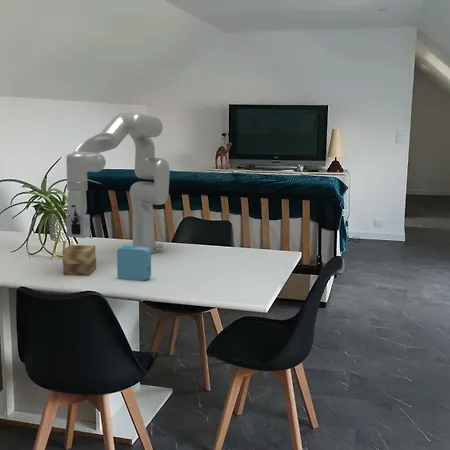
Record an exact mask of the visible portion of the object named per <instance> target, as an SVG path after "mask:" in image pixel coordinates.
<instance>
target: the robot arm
mask: <svg viewBox="0 0 450 450" xmlns="http://www.w3.org/2000/svg"><path fill="white" fill-rule="evenodd" d="M163 128H164V127H163V123H162V121H161V119H159V118H158V117H156V116H152V115H148V114H144V113H140V112H139V113H138V112H120V113H118V114H116V115H115V116H114V117H113V118H112V119H111V120H110V122H109V123H108V124H107V125H106V126H105V127H104V129H102V131H101V132H99V133H97V134H95V135H93V136H91V137H89V138H87V139H86V140H84V141H83V142H81V143H80V144H79V145H78V146H77V147H76V148H75V149H74V151H72V153H68V154H67V155H66V157H65V158H66V159H65V160H66V191H68V192H67V202H66V203H67V204H66V205H67V206H66V208H67V210H66V215H68V216H70V218H71V228H72V234H75V235H79V234H80V224H79V217H80V216H81V215H83V214H86V213H87V210H88V203H87V191H88V172H89V173H90V172H91V173H98V172H101V171H102V170H104V169H105V166H106V162H107V161H106V157H104V155H103V154H101V153H104V152H107V151H111V150H114V149H116V148H118V146H120V144H121V143H122V141H124V139H125V138H126V137H127V136H128V135H129V136H130V137H131V139H132V140H133V142H134V146H135V147H134V148H135V149H134V151H135V153H134V154H135V156H134V174H135V176H136V177H137V178H139V179H144V180H153V181H154V182H151V181H137V182H134V183H133V184H132V185H131V186H130V189H129V195H130V201H131V206H132V207H131V209H132V210H131V211H132V246H137V247H148V248H149V249H150V250H151V254H155V253H157V252H158V249H164V244H163V243H157V241H156V240H155V213H154V209H153V207H152V205H164V204H165V203H166V202H167V200H168V198H169V190H170V187H169V186H170V176H171V175H170V172H171V171H170V170H171V169H170V165H169V162H168V161H167V160H166V159H165V158H161V157H156V156H155V151H156V148H155V142H154V141H153V139H152V138H158V137H159V136H160V135H161V134H162V132H163ZM75 215H78V216H75ZM76 218H77V219H76Z"/></svg>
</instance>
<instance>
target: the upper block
mask: <svg viewBox="0 0 450 450" xmlns="http://www.w3.org/2000/svg"><path fill="white" fill-rule="evenodd" d="M61 251H62V264H63V263H64V264H89V263H91V262H92V261H93V260H94V259H95V258H96V259H97V256H96V245H84V244H82V245H80V244H70V245H68V246H67V247H66V248H64V249H63V250H61Z"/></svg>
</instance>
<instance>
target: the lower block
mask: <svg viewBox="0 0 450 450" xmlns="http://www.w3.org/2000/svg"><path fill="white" fill-rule="evenodd" d="M62 267H63V268H62V269H63V271H62V272H63V276H74V277H75V276H78V277H79V276H83V277H89V276H91V275H92V274H93V273H94V272H95V271H97V257H96V258H95V259H94V260H93V261H92V262H91V263H89V264H64V263H63V262H62Z"/></svg>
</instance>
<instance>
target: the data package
mask: <svg viewBox="0 0 450 450" xmlns="http://www.w3.org/2000/svg"><path fill="white" fill-rule="evenodd" d="M116 268H117V271H116V272H117V273H116V274H117V275H116V276H117V277H118V278H119V279H120V278H124V279H123V280H129V279H134V280H133V281H139V280H145V281H147V279H148V280H149V278H151V276H152V253H151V250H150V249H149V248H148V247H137V246H133V245H123V246H121V247H119V248H117V250H116Z"/></svg>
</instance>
